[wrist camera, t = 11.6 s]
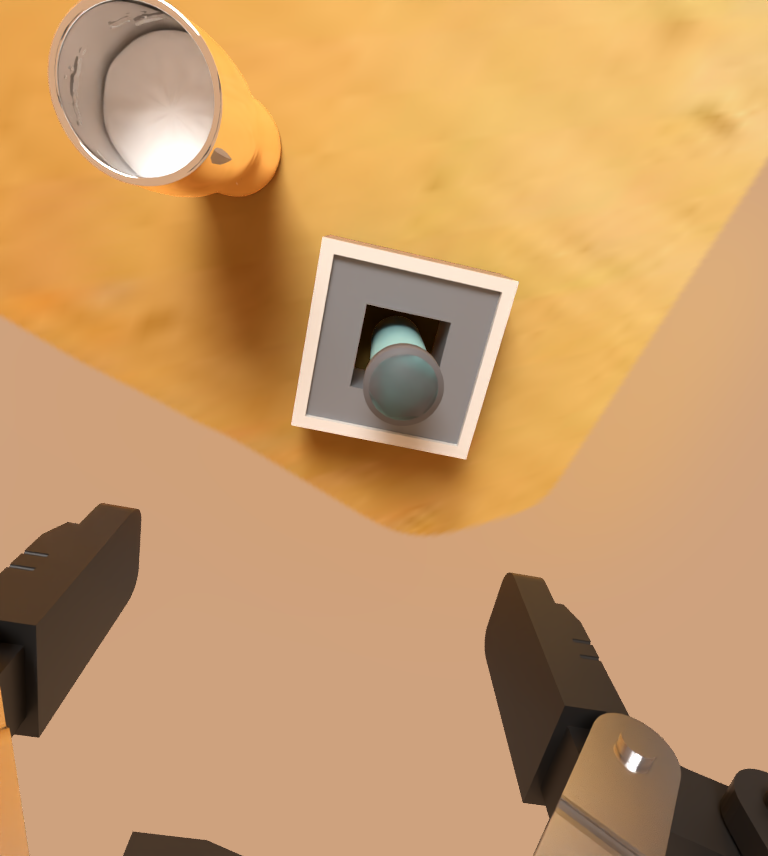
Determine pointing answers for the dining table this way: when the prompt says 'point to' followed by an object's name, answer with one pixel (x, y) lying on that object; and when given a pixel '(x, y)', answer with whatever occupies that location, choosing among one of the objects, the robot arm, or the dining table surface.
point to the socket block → (411, 293)
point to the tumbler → (158, 101)
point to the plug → (401, 374)
